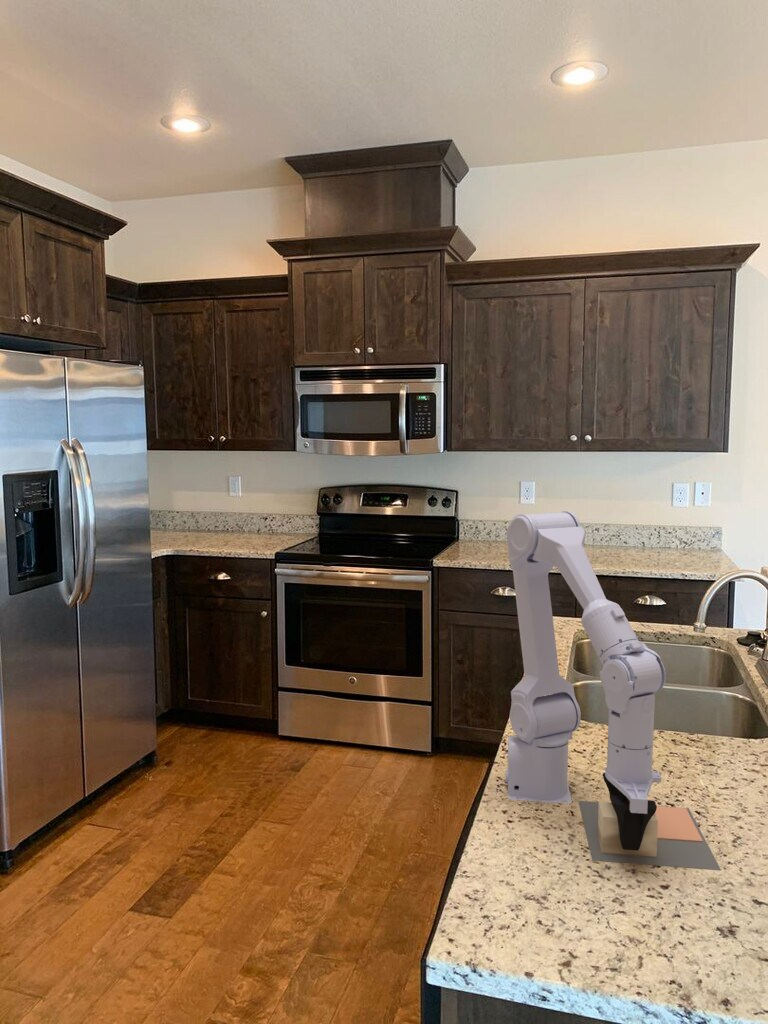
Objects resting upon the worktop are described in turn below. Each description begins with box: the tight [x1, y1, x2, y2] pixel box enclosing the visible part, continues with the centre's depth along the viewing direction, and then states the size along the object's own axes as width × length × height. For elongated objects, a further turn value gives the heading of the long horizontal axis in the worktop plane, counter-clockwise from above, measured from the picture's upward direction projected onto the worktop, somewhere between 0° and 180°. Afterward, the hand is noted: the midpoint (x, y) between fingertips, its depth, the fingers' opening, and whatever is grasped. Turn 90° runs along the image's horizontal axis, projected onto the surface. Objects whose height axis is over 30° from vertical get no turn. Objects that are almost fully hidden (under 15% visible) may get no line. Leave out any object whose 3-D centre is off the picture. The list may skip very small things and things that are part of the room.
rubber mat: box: [578, 800, 722, 872], centre depth 104 cm, size 16×16×1 cm
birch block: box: [598, 801, 658, 857], centre depth 101 cm, size 7×4×5 cm, turn 82°
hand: (626, 837), depth 101 cm, fingers open, 5 cm apart
